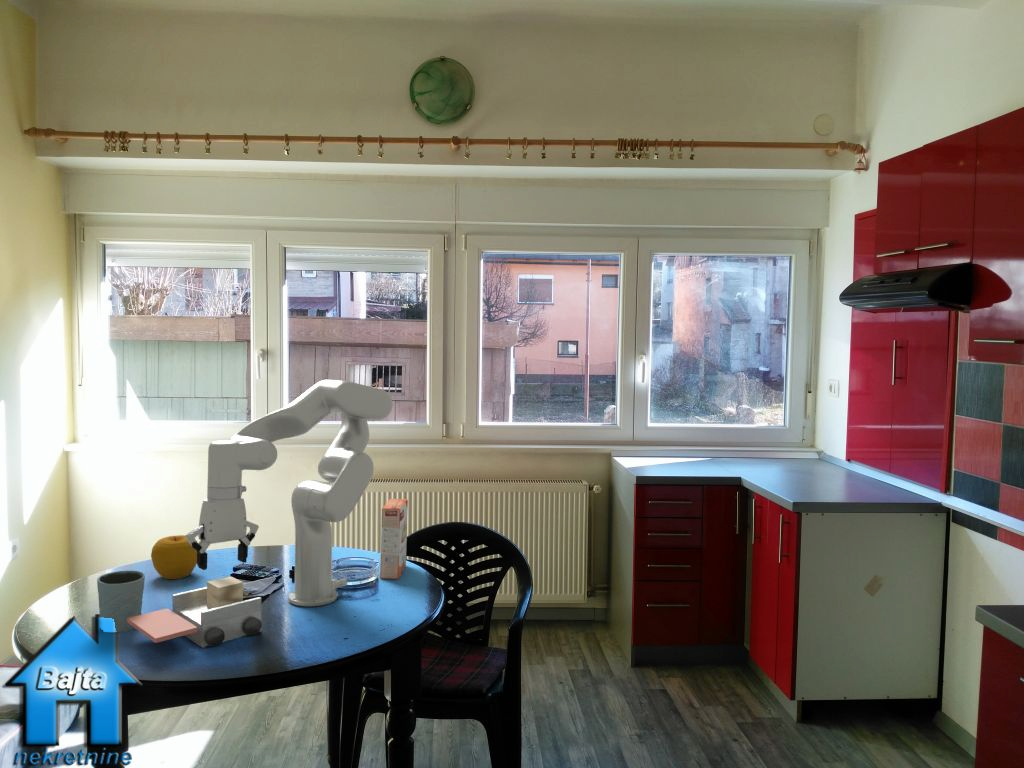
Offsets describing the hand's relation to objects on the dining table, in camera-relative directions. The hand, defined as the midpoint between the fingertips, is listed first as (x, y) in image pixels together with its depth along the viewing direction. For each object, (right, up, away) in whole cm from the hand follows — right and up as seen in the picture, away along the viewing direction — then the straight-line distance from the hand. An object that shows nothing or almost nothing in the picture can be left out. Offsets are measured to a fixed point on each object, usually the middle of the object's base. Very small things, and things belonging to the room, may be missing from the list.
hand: (222, 564), depth 179 cm
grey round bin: (-24, -15, +1) cm, 28 cm away
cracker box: (+33, -14, +47) cm, 59 cm away
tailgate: (-7, -11, -6) cm, 14 cm away
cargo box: (0, -10, +1) cm, 10 cm away
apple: (-28, -13, +39) cm, 49 cm away
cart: (-1, -15, 0) cm, 15 cm away
